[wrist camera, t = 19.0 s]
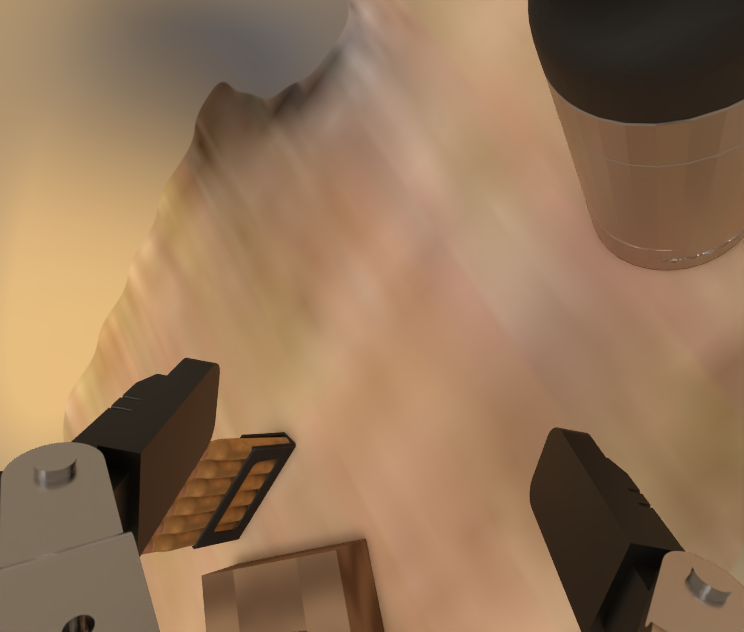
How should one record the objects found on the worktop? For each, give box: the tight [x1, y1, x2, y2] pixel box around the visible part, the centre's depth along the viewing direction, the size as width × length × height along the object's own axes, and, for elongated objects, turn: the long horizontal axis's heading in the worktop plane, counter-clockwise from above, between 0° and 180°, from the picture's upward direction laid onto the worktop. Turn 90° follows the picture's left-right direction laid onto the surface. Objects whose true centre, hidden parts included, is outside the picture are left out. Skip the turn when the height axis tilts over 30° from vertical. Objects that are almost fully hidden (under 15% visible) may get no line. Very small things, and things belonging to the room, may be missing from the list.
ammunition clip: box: [141, 432, 295, 555], centre depth 38 cm, size 11×2×12 cm, turn 143°
